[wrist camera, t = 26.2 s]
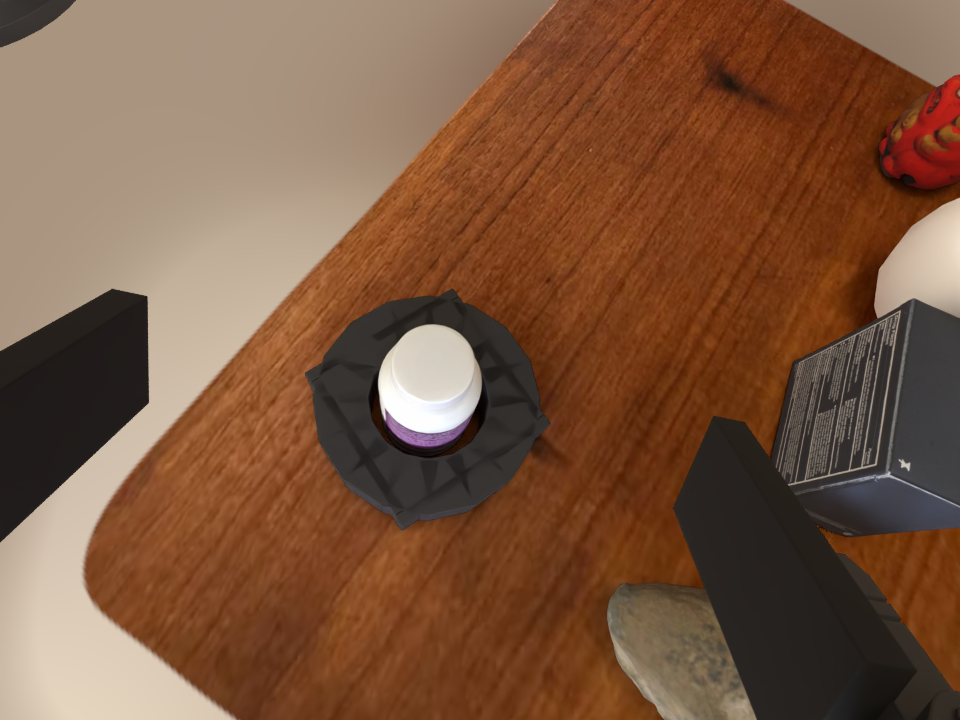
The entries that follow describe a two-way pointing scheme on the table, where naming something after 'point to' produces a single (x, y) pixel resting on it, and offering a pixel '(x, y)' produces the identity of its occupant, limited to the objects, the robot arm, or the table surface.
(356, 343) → the dark grey faceted ring
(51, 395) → the robot arm
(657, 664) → the stone
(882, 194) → the table surface
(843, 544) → the table surface
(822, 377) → the small box
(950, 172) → the red clay folk toy
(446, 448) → the pill bottle
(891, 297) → the cup
